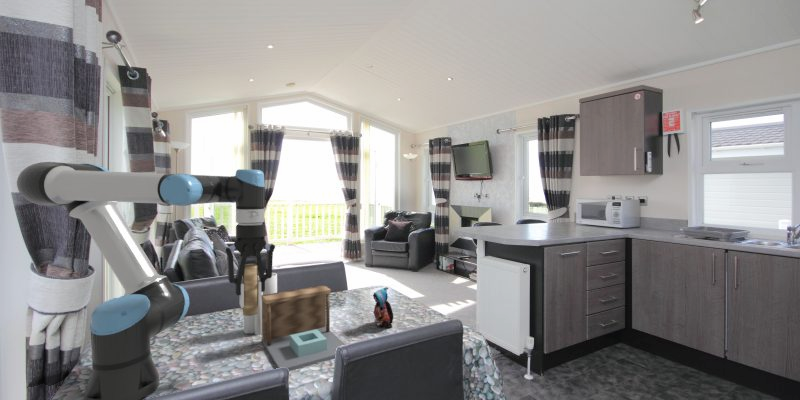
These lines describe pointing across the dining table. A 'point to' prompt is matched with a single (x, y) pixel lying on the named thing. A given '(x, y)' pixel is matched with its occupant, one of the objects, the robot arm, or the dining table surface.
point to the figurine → (382, 309)
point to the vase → (260, 308)
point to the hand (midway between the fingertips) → (250, 304)
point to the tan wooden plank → (295, 312)
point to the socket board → (291, 357)
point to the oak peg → (250, 289)
